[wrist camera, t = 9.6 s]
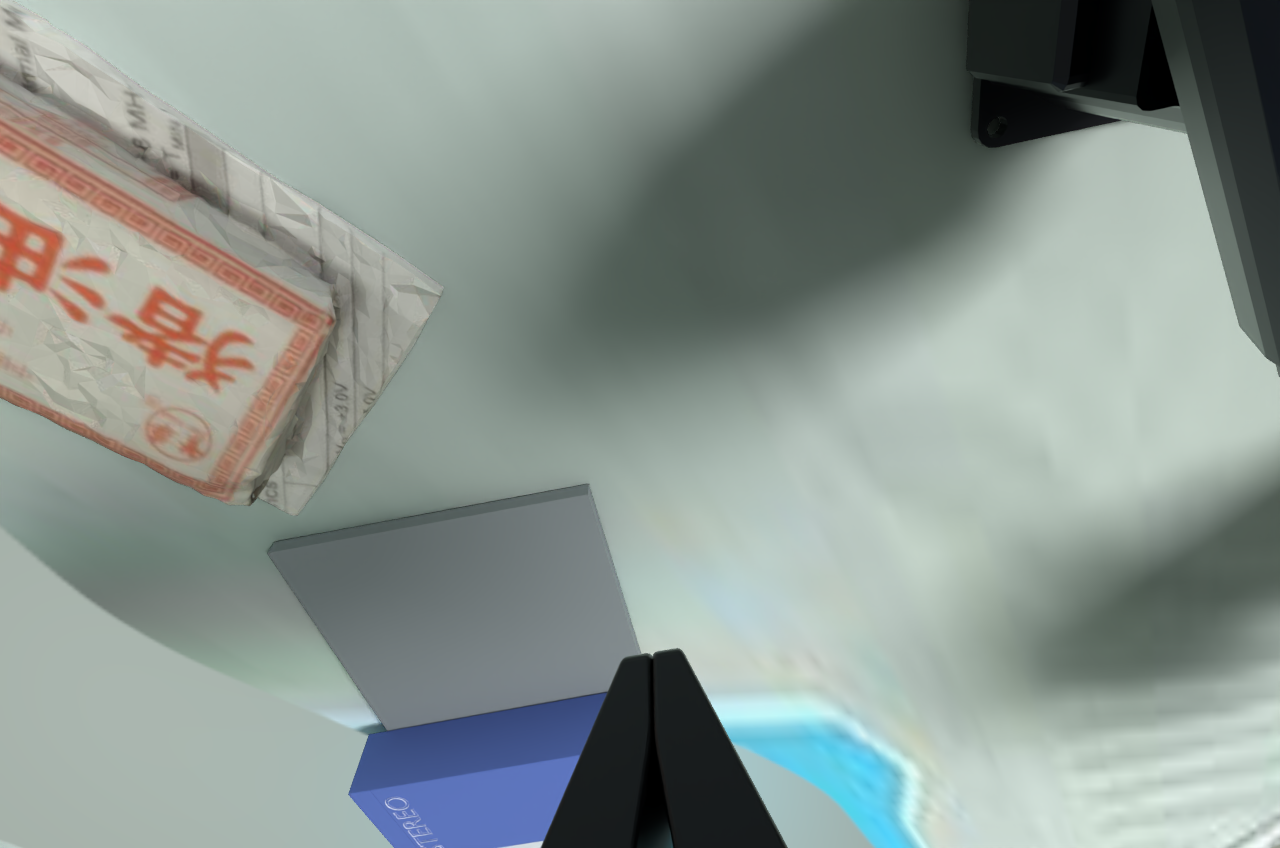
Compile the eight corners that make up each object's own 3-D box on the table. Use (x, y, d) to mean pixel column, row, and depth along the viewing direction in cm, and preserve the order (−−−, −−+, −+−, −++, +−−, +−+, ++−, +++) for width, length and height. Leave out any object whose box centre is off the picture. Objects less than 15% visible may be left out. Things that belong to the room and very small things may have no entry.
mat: (588, 483, 24) (588, 494, 23) (669, 744, 32) (669, 756, 31) (273, 542, 25) (266, 553, 24) (431, 780, 33) (428, 792, 32)
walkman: (619, 688, 29) (361, 734, 30) (619, 749, 26) (339, 796, 28) (659, 786, 33) (430, 823, 34) (662, 847, 30) (416, 884, 32)
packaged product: (-600, 218, 14) (-679, -321, 10) (-319, 172, 18) (-297, -221, 14) (254, 589, 20) (414, 348, 16) (316, 492, 24) (456, 281, 20)
